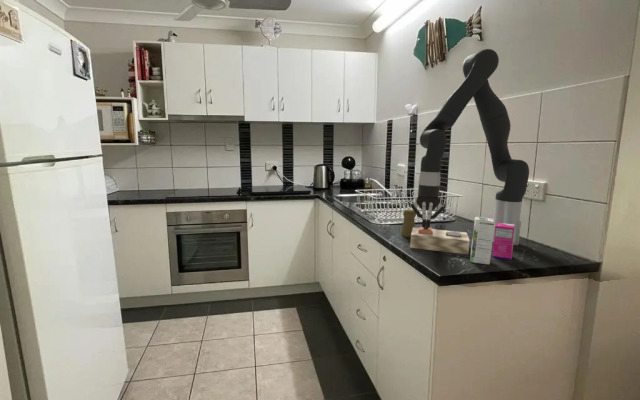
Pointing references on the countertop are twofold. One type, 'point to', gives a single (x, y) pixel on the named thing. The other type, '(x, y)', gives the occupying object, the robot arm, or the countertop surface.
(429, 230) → the terracotta plug
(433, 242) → the block
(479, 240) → the syrup box
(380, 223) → the countertop surface
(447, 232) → the grey plug
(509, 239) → the supplement box
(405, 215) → the cork
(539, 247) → the countertop surface
